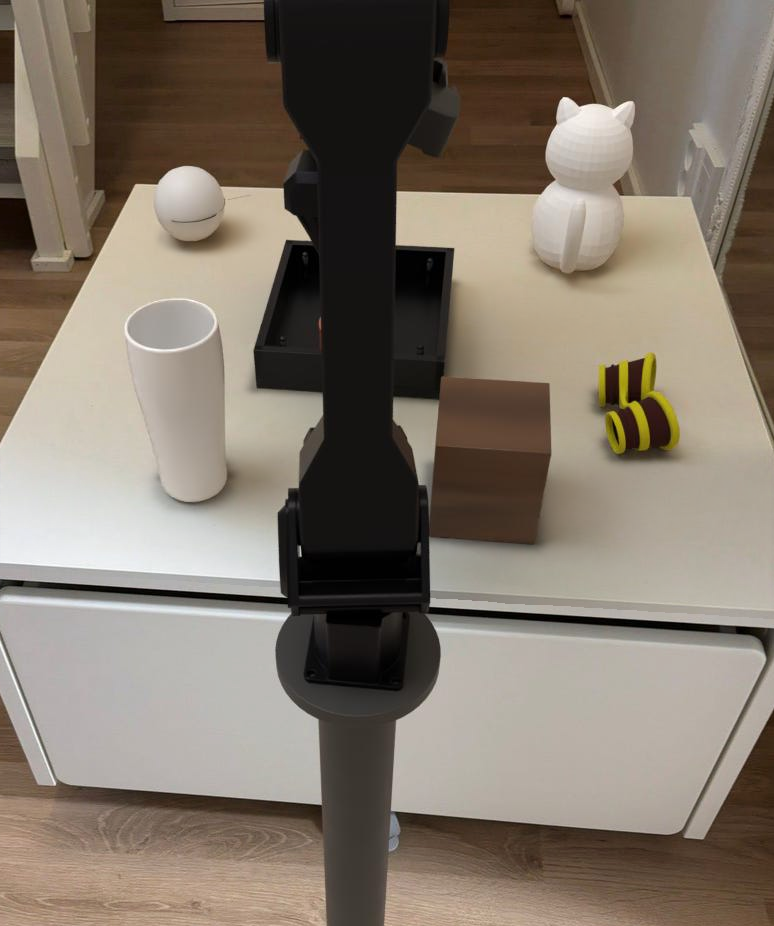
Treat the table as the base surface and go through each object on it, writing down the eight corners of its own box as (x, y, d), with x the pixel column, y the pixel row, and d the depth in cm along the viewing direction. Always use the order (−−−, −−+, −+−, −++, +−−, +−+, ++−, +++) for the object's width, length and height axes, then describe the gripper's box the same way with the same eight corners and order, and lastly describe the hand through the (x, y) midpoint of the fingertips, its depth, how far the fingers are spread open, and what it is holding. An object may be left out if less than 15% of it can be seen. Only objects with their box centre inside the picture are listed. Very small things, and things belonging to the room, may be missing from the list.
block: (534, 544, 77) (551, 453, 70) (427, 536, 78) (435, 445, 71) (533, 473, 82) (549, 382, 76) (433, 466, 83) (441, 375, 77)
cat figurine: (616, 231, 107) (647, 83, 96) (616, 297, 99) (650, 143, 88) (529, 224, 109) (550, 78, 97) (522, 288, 100) (544, 136, 89)
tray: (441, 399, 89) (445, 361, 86) (256, 388, 91) (253, 350, 88) (451, 284, 101) (454, 247, 98) (287, 276, 103) (285, 239, 100)
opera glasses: (593, 397, 90) (591, 350, 86) (655, 387, 89) (656, 339, 86) (612, 470, 84) (612, 423, 80) (679, 460, 83) (682, 412, 79)
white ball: (155, 256, 106) (144, 188, 101) (162, 220, 111) (152, 153, 105) (251, 254, 106) (246, 186, 100) (254, 217, 111) (249, 151, 105)
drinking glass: (157, 456, 85) (128, 297, 74) (238, 454, 85) (222, 295, 74) (148, 513, 80) (116, 353, 69) (234, 511, 80) (216, 350, 69)
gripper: (451, 96, 64) (436, 313, 76) (463, -6, 77) (449, 193, 88) (276, 90, 66) (288, 305, 77) (316, -9, 78) (321, 188, 89)
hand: (343, 244), depth 83 cm, fingers open, 9 cm apart
